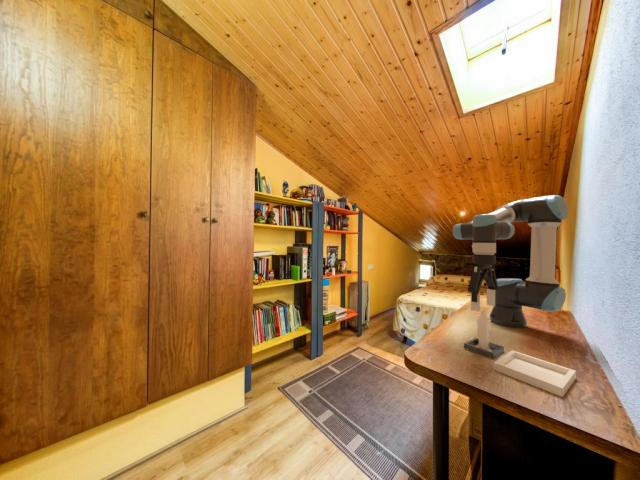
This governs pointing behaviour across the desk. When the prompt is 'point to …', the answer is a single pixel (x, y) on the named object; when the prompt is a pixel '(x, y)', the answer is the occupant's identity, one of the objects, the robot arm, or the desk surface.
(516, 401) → the desk surface
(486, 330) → the perfume bottle
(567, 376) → the tray
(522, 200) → the robot arm
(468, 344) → the ring collar
